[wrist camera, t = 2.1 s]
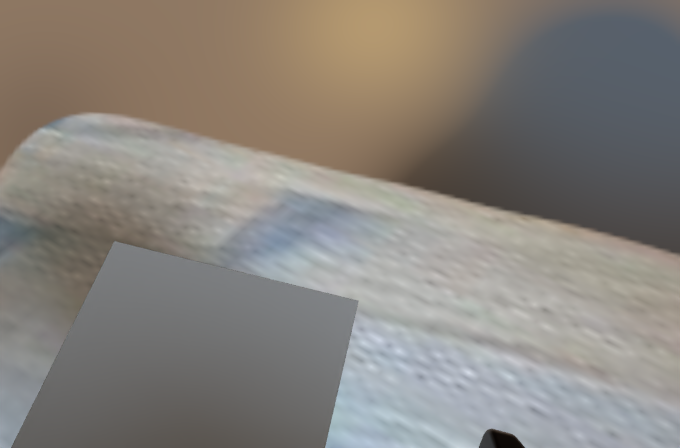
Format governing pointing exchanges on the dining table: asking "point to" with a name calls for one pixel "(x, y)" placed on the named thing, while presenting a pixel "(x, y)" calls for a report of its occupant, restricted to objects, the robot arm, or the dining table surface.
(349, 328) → the grey rectangular prism
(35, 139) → the dining table surface
